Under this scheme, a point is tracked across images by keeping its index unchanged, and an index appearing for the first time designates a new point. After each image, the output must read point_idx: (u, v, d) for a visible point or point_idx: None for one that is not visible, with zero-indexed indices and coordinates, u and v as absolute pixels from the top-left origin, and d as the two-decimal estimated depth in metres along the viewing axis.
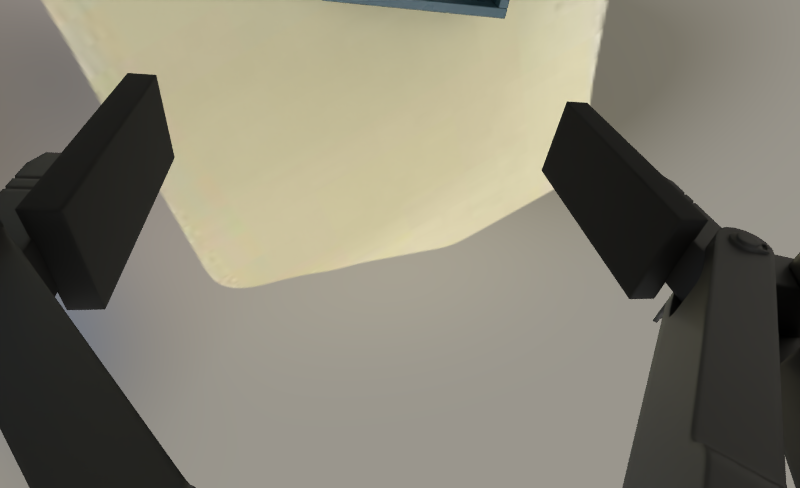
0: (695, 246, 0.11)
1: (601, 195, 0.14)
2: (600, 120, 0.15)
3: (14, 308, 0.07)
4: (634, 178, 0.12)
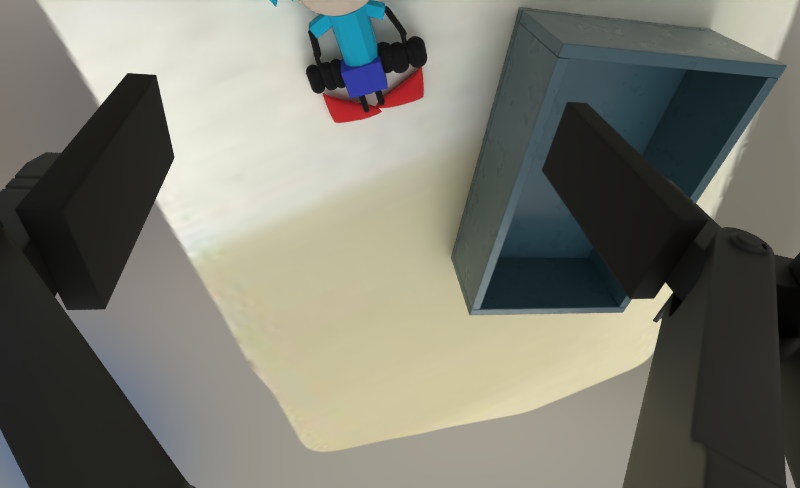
0: (695, 246, 0.11)
1: (602, 195, 0.14)
2: (600, 120, 0.15)
3: (14, 308, 0.07)
4: (634, 178, 0.12)
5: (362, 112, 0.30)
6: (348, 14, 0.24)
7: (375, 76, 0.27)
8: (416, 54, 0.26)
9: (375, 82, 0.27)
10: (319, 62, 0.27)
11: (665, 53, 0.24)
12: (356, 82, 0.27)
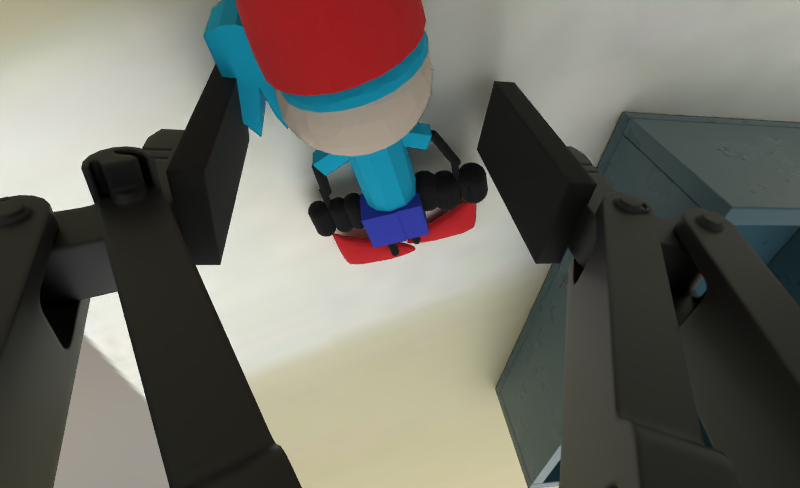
0: (588, 209, 0.12)
1: (517, 168, 0.14)
2: (521, 98, 0.15)
3: (159, 258, 0.08)
4: (539, 148, 0.13)
5: (389, 254, 0.21)
6: (375, 151, 0.15)
7: (412, 222, 0.18)
8: (474, 190, 0.18)
9: (411, 228, 0.18)
10: (328, 201, 0.18)
11: None
12: (383, 230, 0.18)
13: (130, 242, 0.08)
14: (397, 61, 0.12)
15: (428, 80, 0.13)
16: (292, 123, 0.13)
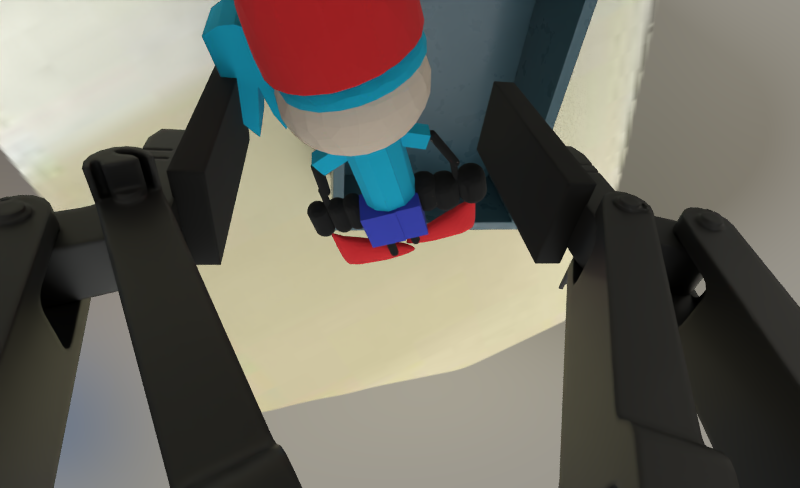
0: (587, 209, 0.12)
1: (517, 168, 0.14)
2: (521, 97, 0.15)
3: (159, 258, 0.08)
4: (539, 148, 0.13)
5: (388, 253, 0.21)
6: (374, 151, 0.15)
7: (411, 222, 0.18)
8: (473, 190, 0.18)
9: (410, 228, 0.18)
10: (327, 201, 0.18)
11: None
12: (382, 230, 0.18)
13: (130, 242, 0.08)
14: (395, 61, 0.12)
15: (426, 79, 0.13)
16: (291, 123, 0.13)
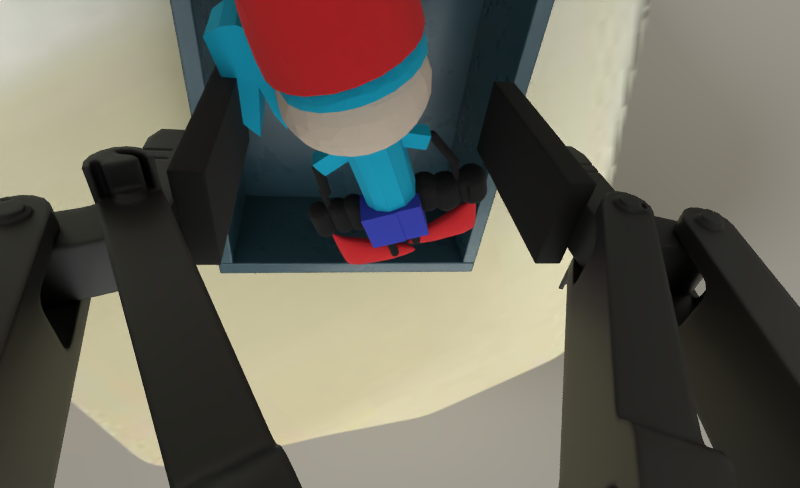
0: (587, 209, 0.12)
1: (517, 168, 0.14)
2: (521, 97, 0.15)
3: (160, 258, 0.08)
4: (538, 148, 0.13)
5: (388, 254, 0.21)
6: (375, 152, 0.15)
7: (412, 222, 0.18)
8: (473, 190, 0.18)
9: (411, 229, 0.18)
10: (328, 201, 0.18)
11: None
12: (383, 230, 0.18)
13: (130, 242, 0.08)
14: (396, 62, 0.12)
15: (427, 80, 0.13)
16: (292, 123, 0.13)
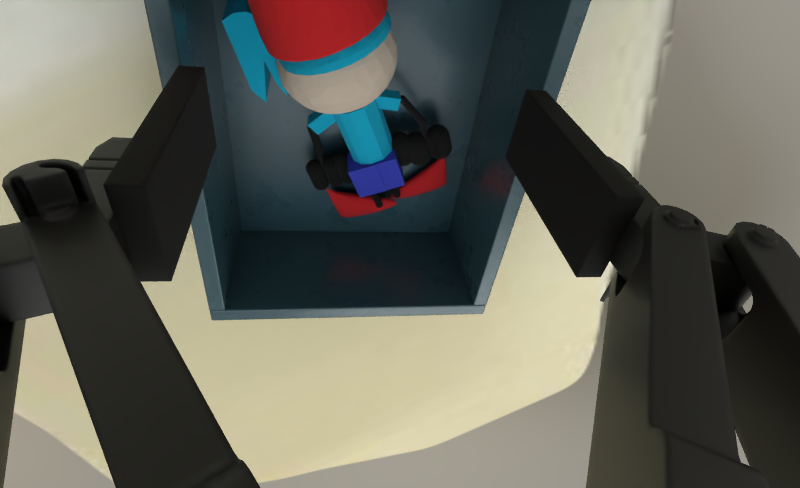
0: (634, 224, 0.11)
1: (554, 179, 0.14)
2: (556, 106, 0.15)
3: (99, 276, 0.07)
4: (580, 160, 0.13)
5: (374, 207, 0.25)
6: (355, 111, 0.19)
7: (390, 174, 0.22)
8: (439, 146, 0.22)
9: (390, 180, 0.22)
10: (321, 158, 0.22)
11: None
12: (367, 181, 0.22)
13: (64, 261, 0.08)
14: (364, 34, 0.16)
15: (392, 51, 0.18)
16: (289, 86, 0.18)
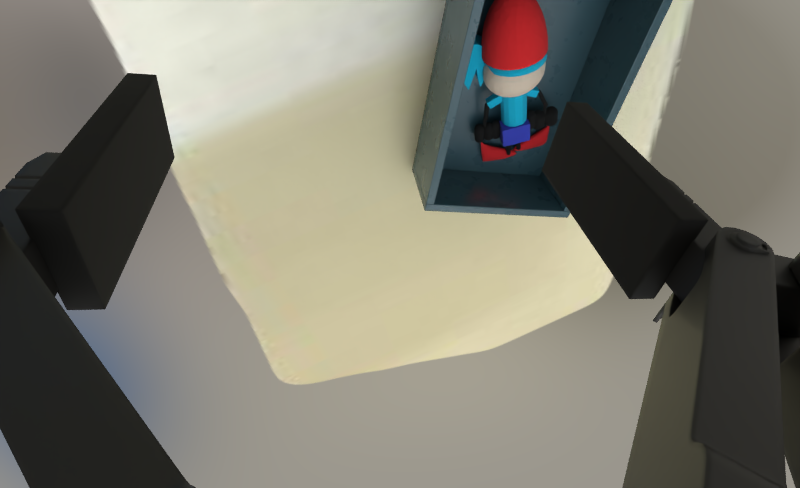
0: (695, 246, 0.11)
1: (601, 195, 0.14)
2: (600, 120, 0.15)
3: (14, 308, 0.07)
4: (634, 178, 0.12)
5: (504, 155, 0.42)
6: (518, 96, 0.36)
7: (524, 133, 0.39)
8: (552, 118, 0.39)
9: (523, 136, 0.39)
10: (485, 123, 0.39)
11: None
12: (510, 136, 0.39)
13: None
14: (541, 58, 0.33)
15: None
16: (493, 82, 0.35)
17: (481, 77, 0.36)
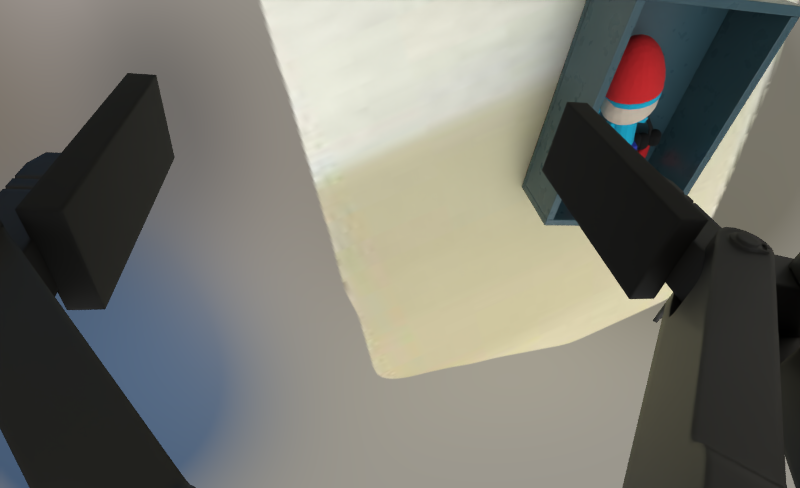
0: (695, 246, 0.11)
1: (601, 195, 0.14)
2: (600, 120, 0.15)
3: (14, 308, 0.07)
4: (634, 178, 0.12)
5: None
6: (631, 123, 0.41)
7: None
8: (656, 140, 0.44)
9: None
10: None
11: None
12: None
13: None
14: (659, 93, 0.38)
15: None
16: (613, 113, 0.40)
17: None
